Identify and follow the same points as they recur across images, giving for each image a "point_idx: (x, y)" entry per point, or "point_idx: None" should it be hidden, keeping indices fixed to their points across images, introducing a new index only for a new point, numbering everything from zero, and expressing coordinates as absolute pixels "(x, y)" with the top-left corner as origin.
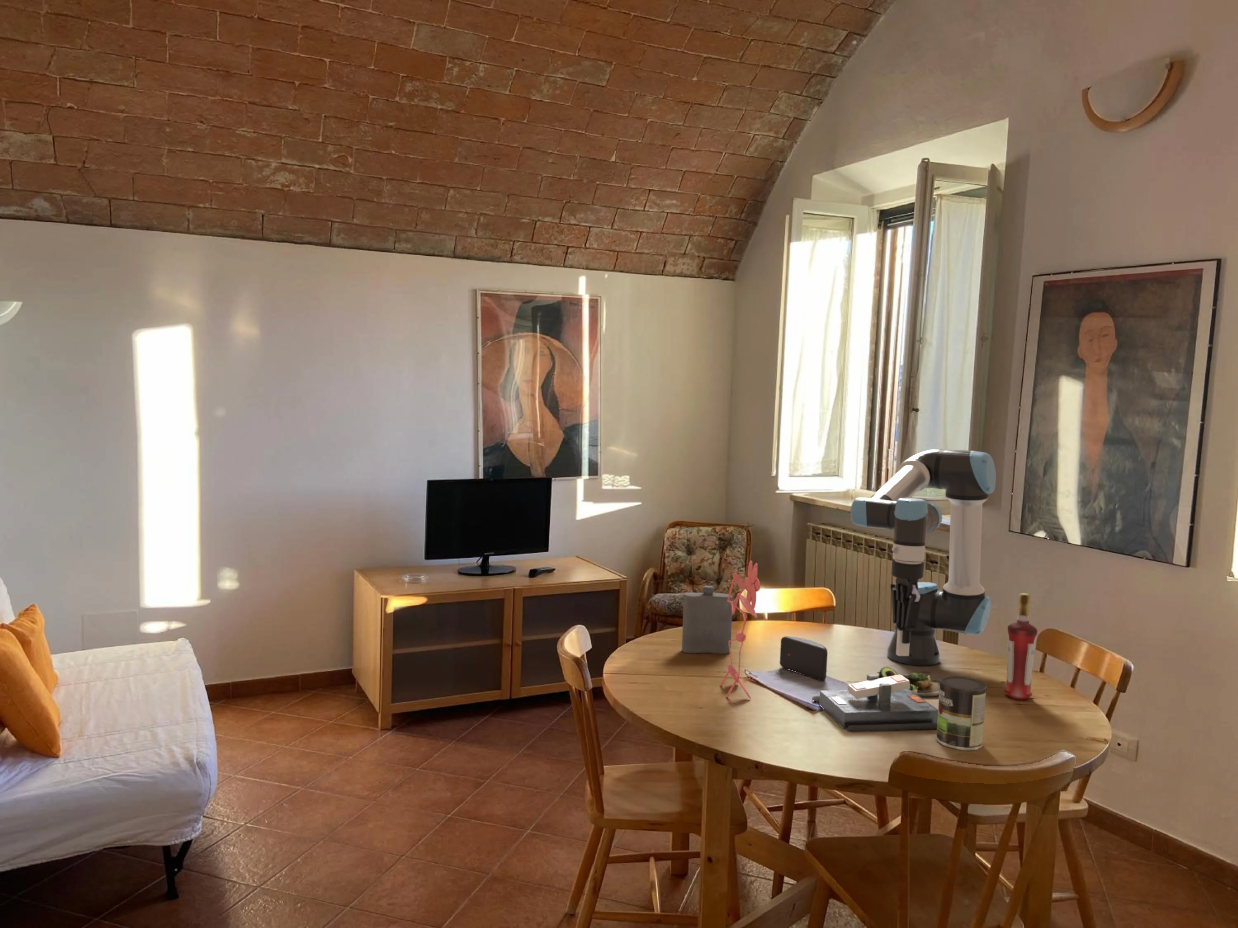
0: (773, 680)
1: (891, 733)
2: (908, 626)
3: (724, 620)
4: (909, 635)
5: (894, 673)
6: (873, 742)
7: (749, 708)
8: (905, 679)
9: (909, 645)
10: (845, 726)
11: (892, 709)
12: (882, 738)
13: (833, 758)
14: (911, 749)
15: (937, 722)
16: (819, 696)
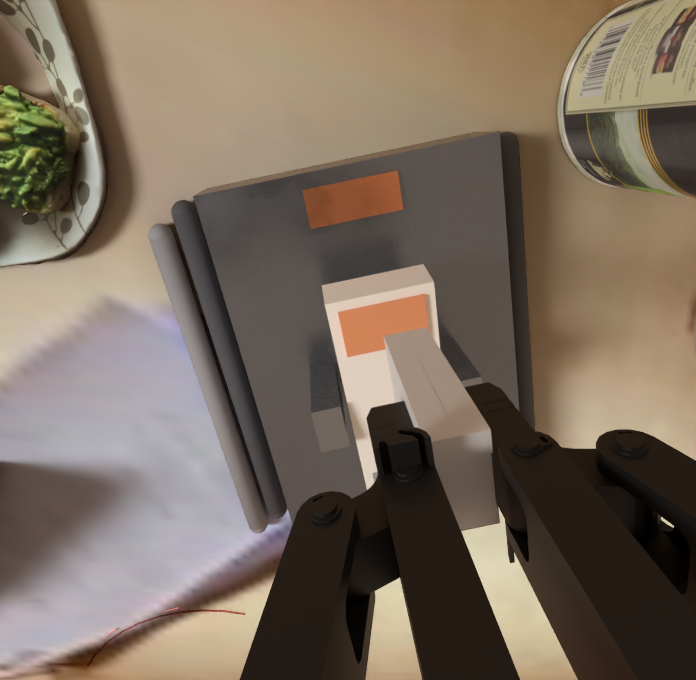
0: (60, 612)
1: (544, 331)
2: (672, 529)
3: None
4: (525, 422)
5: None
6: (615, 400)
7: None
8: (422, 299)
9: (445, 358)
10: None
11: (491, 337)
12: (585, 368)
13: None
14: (682, 299)
15: (648, 191)
16: (254, 516)
